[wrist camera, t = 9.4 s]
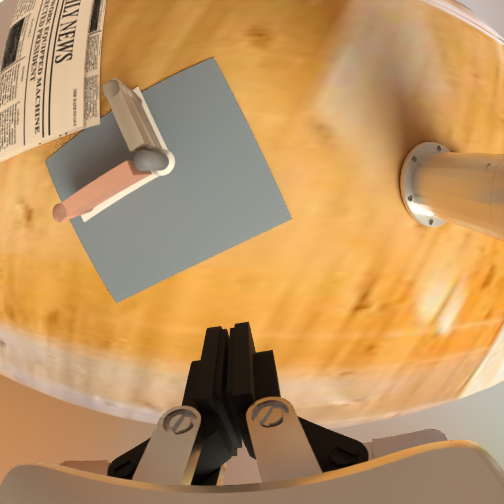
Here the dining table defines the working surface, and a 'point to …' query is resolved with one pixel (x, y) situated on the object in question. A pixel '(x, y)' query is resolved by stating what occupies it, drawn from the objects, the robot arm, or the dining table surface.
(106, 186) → the fence panel
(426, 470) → the robot arm
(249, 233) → the card
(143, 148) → the fence fixed
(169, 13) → the dining table surface
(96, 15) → the newspaper
